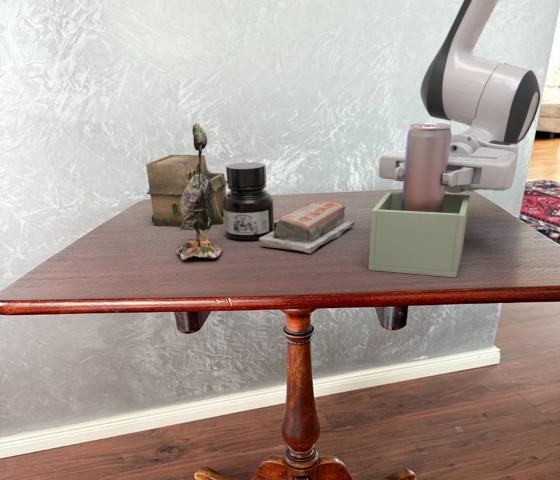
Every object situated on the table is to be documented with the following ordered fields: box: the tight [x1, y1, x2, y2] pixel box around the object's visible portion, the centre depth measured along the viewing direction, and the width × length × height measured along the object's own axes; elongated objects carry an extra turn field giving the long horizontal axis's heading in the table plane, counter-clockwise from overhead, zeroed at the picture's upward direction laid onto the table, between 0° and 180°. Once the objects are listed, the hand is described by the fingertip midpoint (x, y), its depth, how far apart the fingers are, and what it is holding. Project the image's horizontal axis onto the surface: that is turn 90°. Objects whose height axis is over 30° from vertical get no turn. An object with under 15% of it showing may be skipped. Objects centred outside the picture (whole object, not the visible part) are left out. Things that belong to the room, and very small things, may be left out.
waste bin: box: [368, 191, 471, 279], centre depth 82 cm, size 13×13×9 cm
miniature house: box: [145, 154, 228, 231], centre depth 107 cm, size 15×14×11 cm
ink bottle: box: [223, 161, 275, 241], centre depth 96 cm, size 10×9×12 cm
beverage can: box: [401, 122, 452, 213], centre depth 78 cm, size 6×6×15 cm
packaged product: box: [258, 200, 356, 254], centre depth 95 cm, size 18×5×10 cm
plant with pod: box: [175, 122, 224, 260], centre depth 86 cm, size 8×11×20 cm
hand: (422, 177), depth 77 cm, fingers closed on beverage can, 6 cm apart
